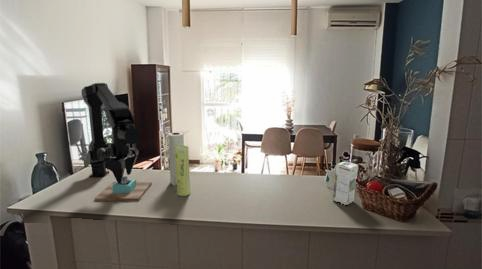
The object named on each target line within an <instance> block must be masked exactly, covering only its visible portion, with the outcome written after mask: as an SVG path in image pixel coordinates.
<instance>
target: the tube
mask: <svg viewBox="0 0 482 269" xmlns="http://www.w3.org/2000/svg"><path fill="white" fill-rule="evenodd" d="M175 155H176V176H177V185H176V192H177V195H178V196H180V197H186V196H189V195H190V194H191V181H190V180H191V179H190V162H189V161H190V159H189V158H190V157H189V146H188V145H187V146H186V145H184V146H183V145H179V144H175Z"/></svg>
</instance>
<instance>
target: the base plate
mask: <svg viewBox="0 0 482 269" xmlns="http://www.w3.org/2000/svg"><path fill="white" fill-rule="evenodd" d="M116 182H117V181H112V182H111V183H110V184H108V186H107V187H106V188H104V189H103V190H102V191H101V192H100V193H98V195H96V196H95V197H94V201H96V202H139V201H140V200H141V199H142V198H143V196H144V195H145V194H146V192H148V190H149V189H150V188H151V186H152V184H153V183H152V181H151V182H150V181H149V182H148V181H136V187H135V189H134V190H133V191H132V192H131V193H113V188H112V185H113V184H115V183H116Z"/></svg>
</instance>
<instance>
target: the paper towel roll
mask: <svg viewBox="0 0 482 269" xmlns="http://www.w3.org/2000/svg"><path fill="white" fill-rule="evenodd" d="M184 142H185V141H184V133H183V132H176V131H175V132H170V133H168V155H169V156H168V157H169V158H168V159H169V161H168V162H169V173H170V174H169V176H170V178H169V180H170V181H169V182H170V184H171V185H172V186H174V187H176V186H177V176H176V155H175V144H179V145H183V146H185V145H184V144H185V143H184Z"/></svg>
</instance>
